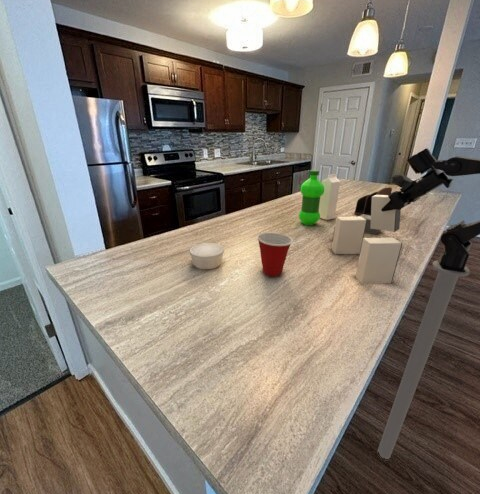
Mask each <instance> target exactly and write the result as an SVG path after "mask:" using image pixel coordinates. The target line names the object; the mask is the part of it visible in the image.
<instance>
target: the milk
mask: <svg viewBox="0 0 480 494" xmlns="http://www.w3.org/2000/svg"><path fill="white" fill-rule="evenodd" d="M321 183H322V184H323V185H324V193H323V195H321V196H320V204H319V214H320V219H323V220H324V221H325V220H326V221H329V220H333V219H335V218H336V211H337V204H338V199H339V191H340V185H341V180H340V179H338V177H337V173H331V174H327V178H325V179H323V180H322V181H321Z"/></svg>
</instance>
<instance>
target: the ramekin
mask: <svg viewBox="0 0 480 494" xmlns="http://www.w3.org/2000/svg"><path fill="white" fill-rule="evenodd" d="M224 253H225V249H224V246H223V245H221V244H219V243H215V242H204V243H199V244H198V243H197V244H196V245H193V246H192V247H190V248H189V255H190V258H191V261H192V264H193V266H194V267H195V268H197V269H199V270H200V269H201V270H212V269H216V268H217V267H219V266H220V265H221V264H222V263H223V256H224Z"/></svg>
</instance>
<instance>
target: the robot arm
mask: <svg viewBox="0 0 480 494" xmlns="http://www.w3.org/2000/svg"><path fill="white" fill-rule="evenodd" d="M406 163H407V164H408V165H409V167H410V168H411V170H412V171H413V172H414V173H415V174H416V175H418V174H420V175H422V176H421V177H419V178H418V179H415V180H414V179H412V178H410V177H409V176H407V175H405V174H403V173H402V172H398V173H395V175H393V176H392V177H391V179H390V183H391V184H394V185H395V186H398V187H399V190H395V191H393V192H391V194H389V195H388V197H389V199H390V201H389V202H388V203H387V204H386V205H385V206H384V207H383V208H382V209H381V210H382V212H384V211H390V210H396V209H398V210H400V209H401V210H402V209H404V208H405V207H407V206H408V205H409V206H410V204H411V203H415V202H416V201H418V200H420V199H421V198H422V197H424V196H426V195H427V194H429V193H430V192H432V191H434V190H436V189H437V188H439V187H441V186H443V185H444V187H445V188H447V189H449V188H450V187H452V185H453V184H452V183H453V182H454V178H450V177H459V176H460V177H461V176H470V175H480V158H475V157H470V156H464V155H457V156H453V157H450V158H448V159H439V160H437V159H436V157H435V156H434V155H433V154H432V152H431V151H430V149H429V148H428V147H425V148H424V149H422V150H421V151H419V152H417V153H416V154H413V155H412V156H410V157H408V158H407V159H406ZM441 171H442V172H441ZM479 235H480V220H476V221H474V222H470V223H466V222H465V220H461V221H460V222H458V223H456V224H451V225H449V226H448V227H447V228H446V229H445V231H444V232H443V233H442V234H441V235H440V242H441V244H443V246H444V247H443V250H442V251H440V253H439V256H438V258H437V260H438V263H439V264H440V266H441V268H442V269H446V270H452V271H458V272H466V271H465V269H464V268H465V267H466V265H467V263H468V260H469V257H470V252H469V251H470V249H471V247H472V246H473V244H472V242H471V240H473V239H474V238H476V237H478V236H479Z"/></svg>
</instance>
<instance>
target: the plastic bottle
mask: <svg viewBox="0 0 480 494" xmlns="http://www.w3.org/2000/svg"><path fill="white" fill-rule="evenodd" d="M308 175H309V178H308V179H307V180H305V181H304V182H303V183H301V186H300V193H301V195H302V199H301V209H300V211H299V212H298V218H299V221H300V222H301V223H302V224H303V225H305V226H314V225H315V224H316V223H318V222H319V221H320V219H321V218H320V214H319V204H320V196H321V195H323V193H324V185H323V184H322V181H320V179H318V176H319V175H320V170H317V169H310V170H309V171H308Z"/></svg>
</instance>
